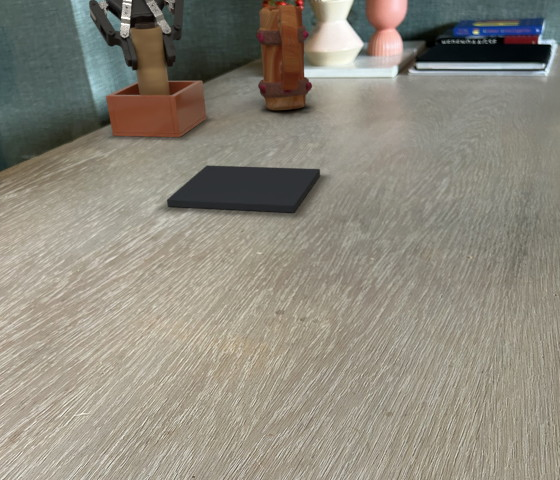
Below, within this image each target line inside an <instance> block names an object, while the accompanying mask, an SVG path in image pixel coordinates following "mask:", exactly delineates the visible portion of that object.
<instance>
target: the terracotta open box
mask: <svg viewBox="0 0 560 480" xmlns="http://www.w3.org/2000/svg"><path fill="white" fill-rule="evenodd" d="M168 81H169V89H170V95H140V94H139V87H138V81H135V82H133V83H131V84H128V85H127V86H125V87H122V88H120V89H118V90H116V91H114V92H111V93H109V94H107V95H106V96H105V100H106V104H107V110H108V116H109V120H110V126H111V133H112V136H113V137H148V138H149V137H151V138H153V137H154V138H155V137H156V138H157V137H158V138H181V137H183V136H184V135H185V134H187V133H188V132H190V131H191V130H193V129H194V128H195V127H197V126H198V125H200V124H201V123H202V122H204V121H206V120H207V113H206V112H207V111H206V110H207V109H206V103H205V93H204V92H205V91H204V84H203V83H204V82H203V80H168Z"/></svg>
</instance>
